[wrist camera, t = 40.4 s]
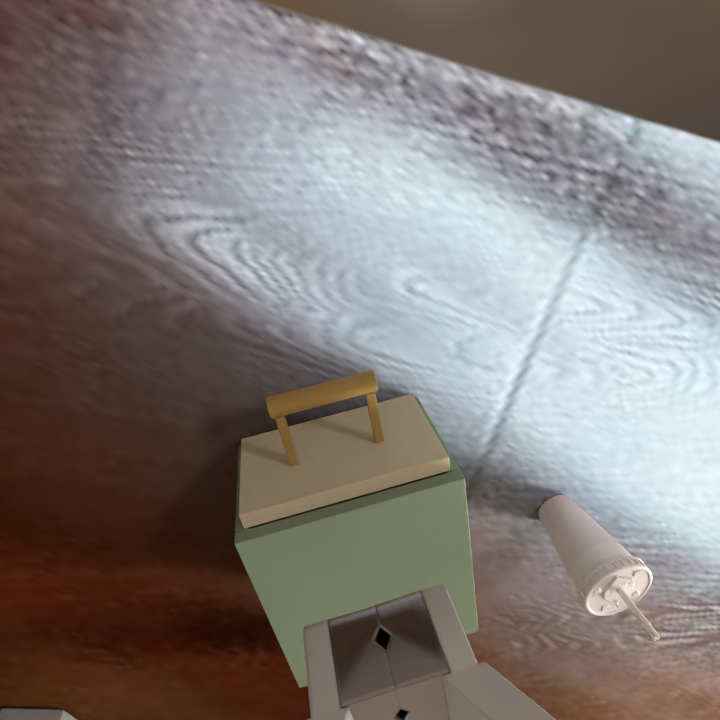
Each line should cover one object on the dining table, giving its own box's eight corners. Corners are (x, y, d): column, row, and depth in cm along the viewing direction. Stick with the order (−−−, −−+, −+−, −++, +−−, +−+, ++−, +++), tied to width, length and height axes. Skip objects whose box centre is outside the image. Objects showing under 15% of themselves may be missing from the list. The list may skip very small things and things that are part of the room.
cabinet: (238, 445, 37) (233, 544, 28) (417, 397, 38) (465, 478, 30) (290, 580, 45) (299, 688, 37) (437, 536, 47) (478, 631, 38)
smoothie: (579, 474, 47) (695, 602, 34) (587, 515, 50) (696, 645, 38) (520, 501, 47) (615, 638, 34) (532, 540, 50) (622, 678, 38)
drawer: (217, 377, 33) (208, 446, 26) (403, 330, 34) (441, 385, 27) (291, 570, 43) (298, 656, 36) (432, 529, 44) (464, 604, 38)
